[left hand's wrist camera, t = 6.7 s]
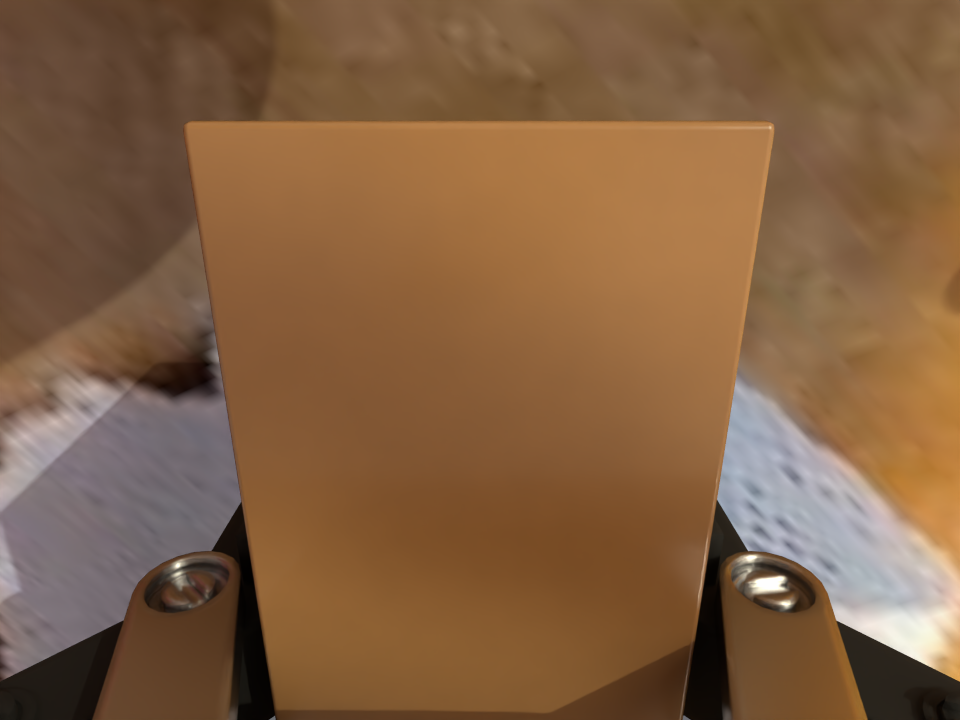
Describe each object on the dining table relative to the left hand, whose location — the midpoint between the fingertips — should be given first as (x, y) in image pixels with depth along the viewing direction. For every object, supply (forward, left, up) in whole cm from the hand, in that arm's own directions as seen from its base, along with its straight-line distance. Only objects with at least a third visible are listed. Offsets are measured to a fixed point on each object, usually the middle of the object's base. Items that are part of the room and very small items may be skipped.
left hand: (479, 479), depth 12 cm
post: (+20, -15, -3) cm, 25 cm away
